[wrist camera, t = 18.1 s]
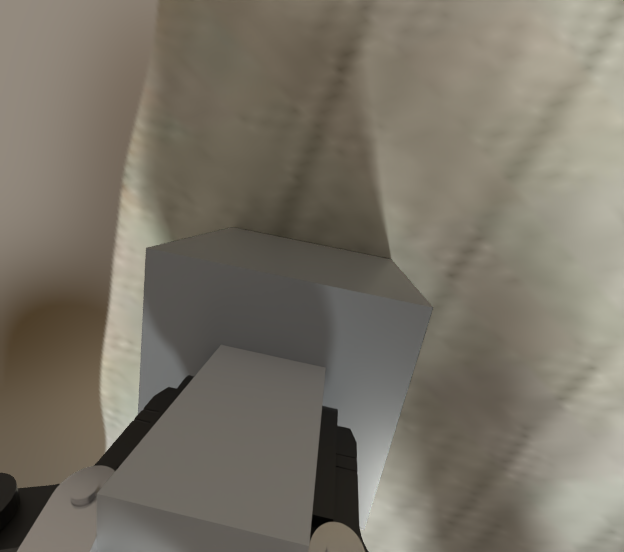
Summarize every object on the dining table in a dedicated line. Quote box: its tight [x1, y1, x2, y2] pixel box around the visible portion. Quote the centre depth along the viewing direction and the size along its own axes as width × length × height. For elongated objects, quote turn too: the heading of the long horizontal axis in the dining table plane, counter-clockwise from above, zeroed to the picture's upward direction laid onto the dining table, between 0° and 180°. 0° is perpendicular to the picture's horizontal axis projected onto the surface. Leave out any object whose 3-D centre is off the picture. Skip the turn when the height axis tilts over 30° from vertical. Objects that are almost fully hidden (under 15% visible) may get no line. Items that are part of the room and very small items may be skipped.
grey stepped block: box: [96, 227, 433, 552], centre depth 13 cm, size 10×10×15 cm
